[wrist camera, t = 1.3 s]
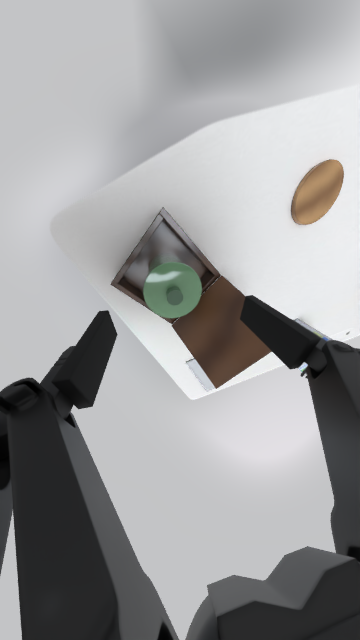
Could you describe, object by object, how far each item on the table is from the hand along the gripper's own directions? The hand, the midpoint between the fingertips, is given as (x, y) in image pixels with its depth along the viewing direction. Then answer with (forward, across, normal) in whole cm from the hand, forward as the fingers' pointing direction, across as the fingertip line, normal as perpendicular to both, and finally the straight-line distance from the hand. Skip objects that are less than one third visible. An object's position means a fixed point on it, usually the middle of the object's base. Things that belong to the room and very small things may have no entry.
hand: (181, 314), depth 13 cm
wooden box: (+16, 0, 0) cm, 16 cm away
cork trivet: (+16, +26, +11) cm, 33 cm away
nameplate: (+16, +10, -36) cm, 41 cm away
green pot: (+15, 0, 0) cm, 15 cm away
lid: (+5, +7, -7) cm, 11 cm away
